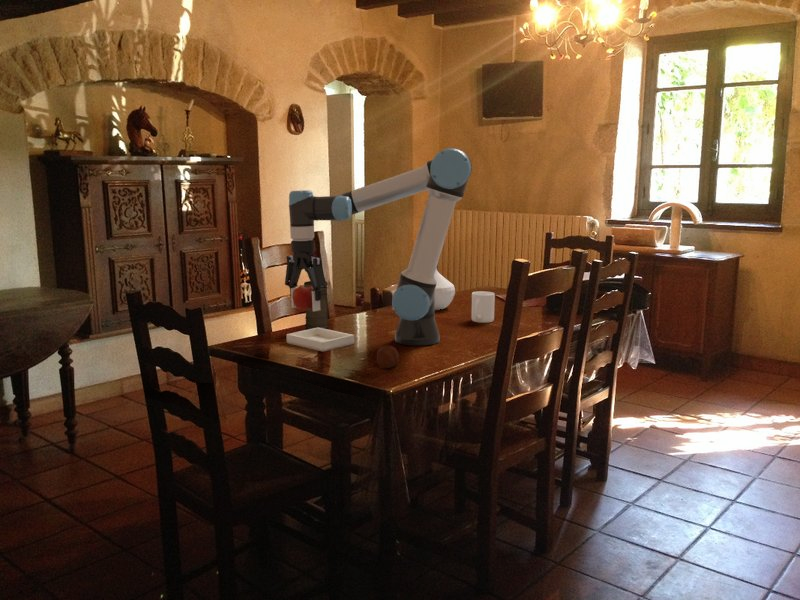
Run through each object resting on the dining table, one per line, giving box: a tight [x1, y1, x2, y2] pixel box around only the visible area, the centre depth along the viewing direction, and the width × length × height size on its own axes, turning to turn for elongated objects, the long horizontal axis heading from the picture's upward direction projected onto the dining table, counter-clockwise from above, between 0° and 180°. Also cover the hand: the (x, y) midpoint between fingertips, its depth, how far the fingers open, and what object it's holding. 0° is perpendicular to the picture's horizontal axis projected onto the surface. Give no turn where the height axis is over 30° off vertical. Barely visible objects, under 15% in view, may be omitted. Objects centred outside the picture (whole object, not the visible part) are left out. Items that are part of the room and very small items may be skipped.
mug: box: [471, 290, 496, 324], centre depth 268 cm, size 9×12×11 cm
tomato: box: [292, 284, 321, 310], centre depth 227 cm, size 9×9×8 cm
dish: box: [286, 327, 355, 352], centre depth 234 cm, size 18×14×3 cm
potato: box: [376, 344, 400, 369], centre depth 206 cm, size 7×9×6 cm
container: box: [303, 280, 331, 330], centre depth 250 cm, size 9×9×18 cm
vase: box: [434, 266, 456, 311], centre depth 294 cm, size 18×18×19 cm
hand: (305, 309), depth 227 cm, fingers closed on tomato, 9 cm apart
